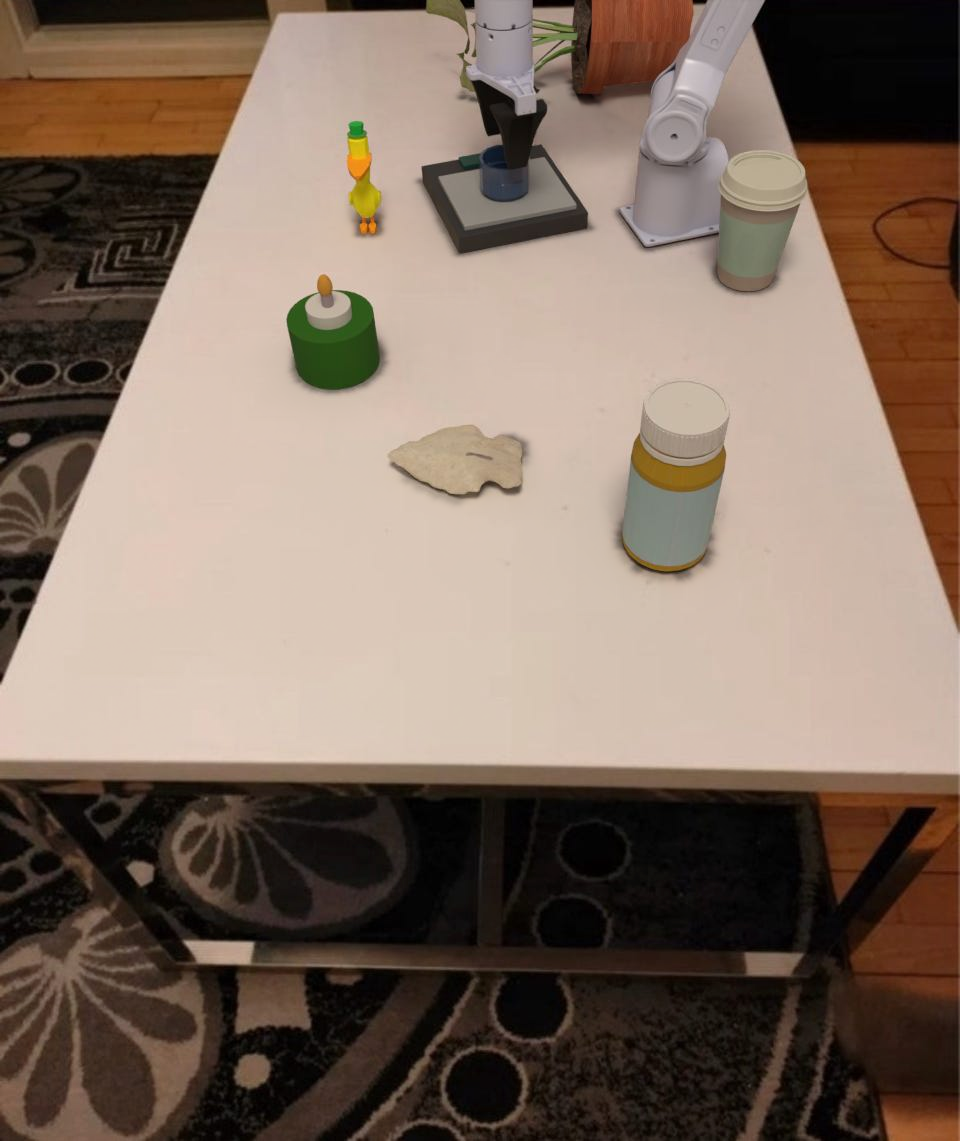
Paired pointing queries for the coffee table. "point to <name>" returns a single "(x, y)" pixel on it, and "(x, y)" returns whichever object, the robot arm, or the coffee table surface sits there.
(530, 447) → the coffee table surface
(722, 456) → the bottle
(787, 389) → the coffee table surface
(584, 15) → the potted plant
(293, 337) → the candle
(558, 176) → the scale
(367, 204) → the toy figure
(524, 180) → the blue cup
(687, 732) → the coffee table surface
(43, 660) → the coffee table surface
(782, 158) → the coffee cup
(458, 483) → the decorative stone
